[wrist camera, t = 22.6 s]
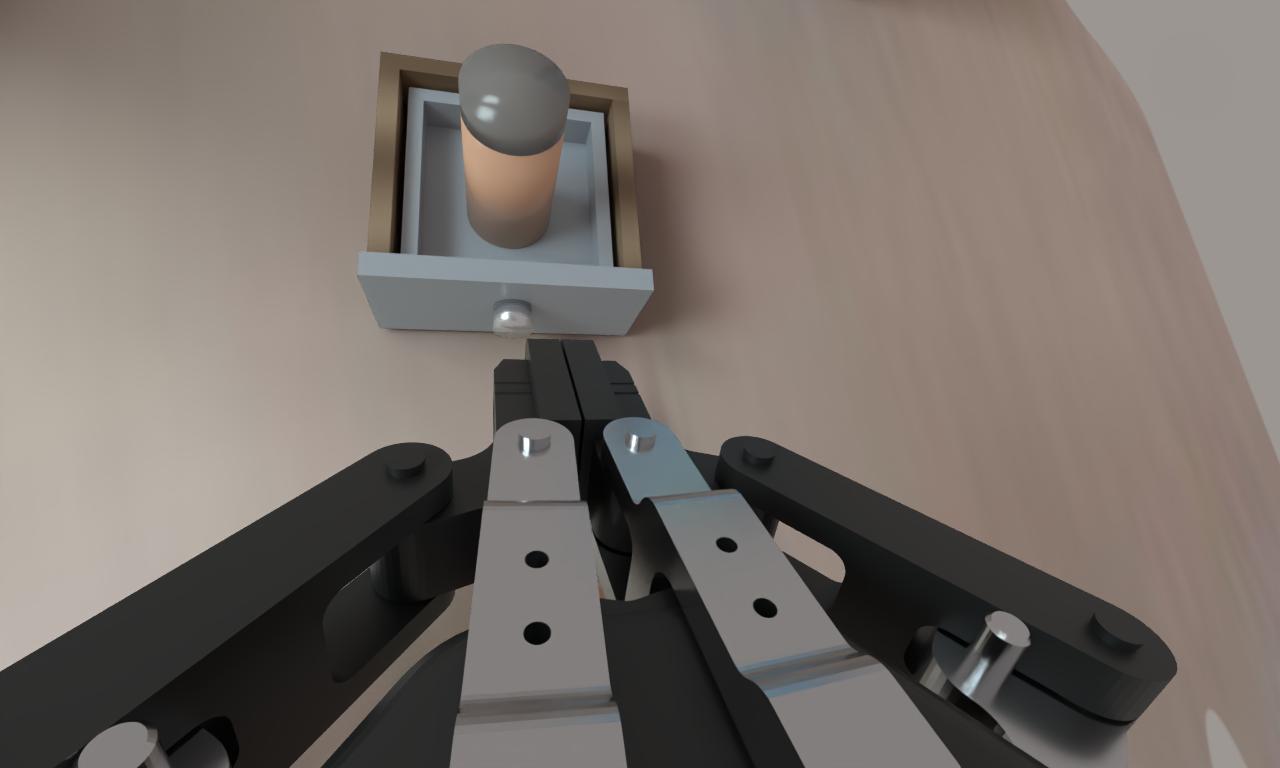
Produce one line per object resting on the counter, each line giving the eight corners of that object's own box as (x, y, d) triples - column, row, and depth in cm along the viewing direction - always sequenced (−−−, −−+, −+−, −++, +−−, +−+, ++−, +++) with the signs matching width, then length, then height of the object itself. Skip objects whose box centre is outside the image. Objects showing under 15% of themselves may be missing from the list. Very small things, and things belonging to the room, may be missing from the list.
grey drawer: (626, 356, 35) (656, 315, 29) (378, 352, 31) (354, 303, 25) (612, 154, 39) (636, 82, 33) (391, 129, 35) (373, 42, 29)
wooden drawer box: (621, 315, 36) (642, 279, 32) (382, 306, 33) (366, 264, 28) (610, 143, 40) (627, 88, 35) (393, 116, 36) (380, 51, 32)
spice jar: (472, 251, 33) (466, 132, 24) (461, 179, 34) (451, 41, 25) (556, 246, 34) (579, 132, 25) (542, 177, 35) (560, 46, 26)
